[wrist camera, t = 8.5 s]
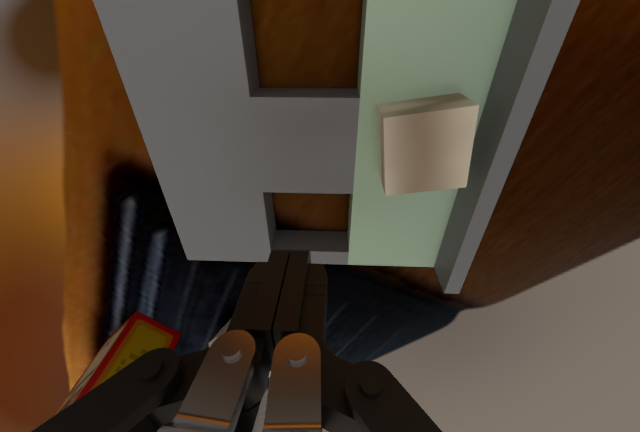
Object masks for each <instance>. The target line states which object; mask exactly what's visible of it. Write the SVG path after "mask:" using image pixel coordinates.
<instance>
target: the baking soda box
mask: <svg viewBox="0 0 640 432" xmlns="http://www.w3.org/2000/svg"><path fill="white" fill-rule="evenodd" d="M180 335H181V333H179V332H177V331H175V330H173V329H171V328H169V327H167V326H165V325H163V324H161V323H159V322H157V321H155V320H153V319H151V318H149V317H147V316H145V315H143V314H141V313H139V312H137V311H136V312H135V313H134V314H133V315H132V316H131V317H130V318H129V319H128V320H127V321H126V322H124V323H123V324H122V325H121V326H120V327H119V328H118V329H117V330H116V331H115V332H114V333H113V334H112V335H111V336H110V337H109V338H108V339H107V340H106V342H105V343H104V344H103V346H102V347H101V349H100V350H99V351H98V353H97V354H96V356H95V357H94V359H93V360H92V361H91V363H90V364H89V366H88V367H87V368H86V370H85V371H84V373H83V374H82V376H81V377H80V378H79V380H78V381H77V383H76V384H75V385H74V387H73V388H72V390H71V391H70V393H69V394H68V395H67V397H66V398H65V400H64V401H63V402H62V404H61V405H60V407H59V408H58V410H57V411H56V412H55V414H54V415H53V416H55V415H56V414H58V413H59V412H61V411H62V410H64V409H65V408H67V407H68V406H69V405H71V404H72V403H74V402H75V401H77V400H78V399H80V398H81V397H82V396H84V395H85V394H87V393H88V392H90V391H91V390H93V389H94V388H95V387H97V386H98V385H100V384H101V383H103V382H104V381H106V380H107V379H108V378H110V377H111V376H113V375H114V374H116V373H117V372H119V371H120V370H122V369H123V368H124V367H126V366H127V365H129V364H130V363H132V362H133V361H135V360H136V359H137V358H139V357H140V356H142V355H143V354H145V353H147V352H149V351H151V350H153V349H157V348H169V349H172V350H174V348H175V346H176V344H177V341H178V339H179V337H180Z"/></svg>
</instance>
